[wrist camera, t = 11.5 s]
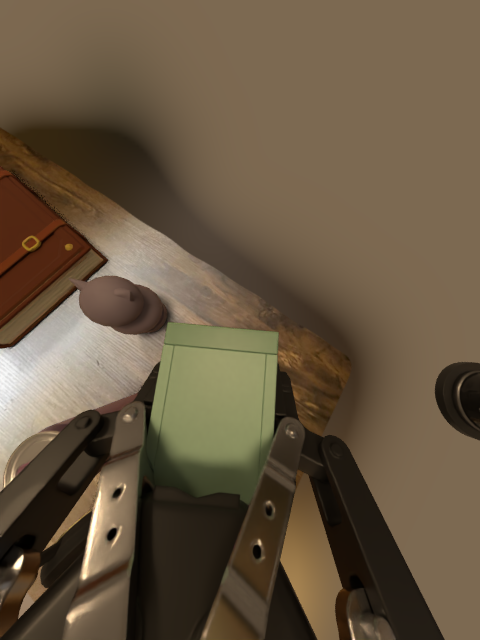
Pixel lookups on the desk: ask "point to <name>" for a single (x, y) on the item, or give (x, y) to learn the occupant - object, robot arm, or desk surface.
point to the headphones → (64, 550)
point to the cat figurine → (121, 305)
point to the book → (36, 259)
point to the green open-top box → (213, 409)
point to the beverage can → (48, 441)
